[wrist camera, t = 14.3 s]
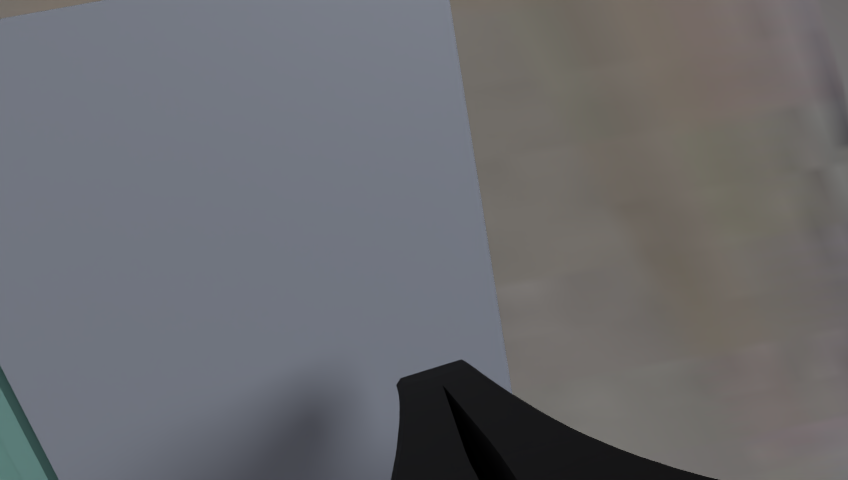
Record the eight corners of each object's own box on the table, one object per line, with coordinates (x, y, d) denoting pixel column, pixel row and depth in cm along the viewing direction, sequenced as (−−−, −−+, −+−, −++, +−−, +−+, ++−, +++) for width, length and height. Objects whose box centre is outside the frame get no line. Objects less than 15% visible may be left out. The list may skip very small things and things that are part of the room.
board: (485, 384, 23) (519, 441, 19) (134, 492, 21) (108, 575, 17) (409, -40, 17) (439, -60, 14) (-70, 48, 15) (-162, 48, 12)
